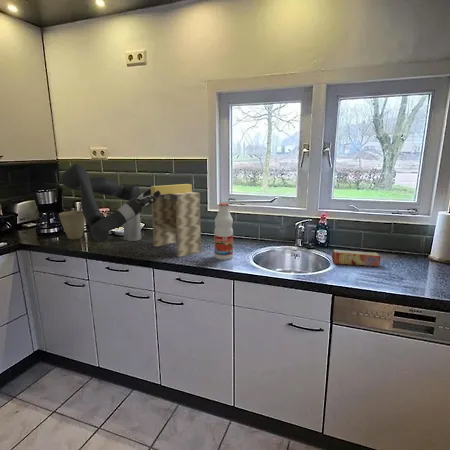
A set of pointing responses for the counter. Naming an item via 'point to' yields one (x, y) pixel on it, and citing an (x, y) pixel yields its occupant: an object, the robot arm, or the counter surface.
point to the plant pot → (73, 223)
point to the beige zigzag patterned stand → (177, 221)
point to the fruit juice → (223, 233)
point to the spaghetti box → (172, 189)
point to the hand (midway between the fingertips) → (155, 191)
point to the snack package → (355, 258)
